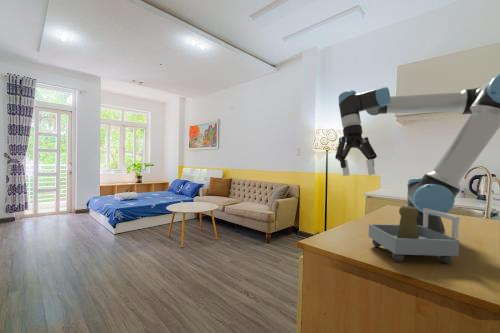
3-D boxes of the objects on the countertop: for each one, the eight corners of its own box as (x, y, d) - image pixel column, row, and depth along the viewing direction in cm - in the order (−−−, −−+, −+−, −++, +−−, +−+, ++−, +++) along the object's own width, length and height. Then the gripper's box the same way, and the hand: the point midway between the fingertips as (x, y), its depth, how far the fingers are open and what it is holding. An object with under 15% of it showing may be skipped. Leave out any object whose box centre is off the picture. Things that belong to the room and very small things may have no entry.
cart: (422, 246, 83) (423, 207, 83) (461, 266, 67) (463, 218, 67) (368, 244, 83) (369, 206, 83) (394, 264, 67) (396, 216, 67)
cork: (423, 244, 72) (424, 208, 72) (401, 242, 73) (402, 207, 73) (413, 237, 78) (414, 205, 78) (393, 236, 79) (394, 204, 79)
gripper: (367, 130, 108) (374, 175, 105) (322, 128, 100) (329, 177, 96) (380, 124, 101) (389, 172, 98) (334, 122, 93) (341, 174, 89)
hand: (359, 175), depth 97 cm, fingers open, 13 cm apart
